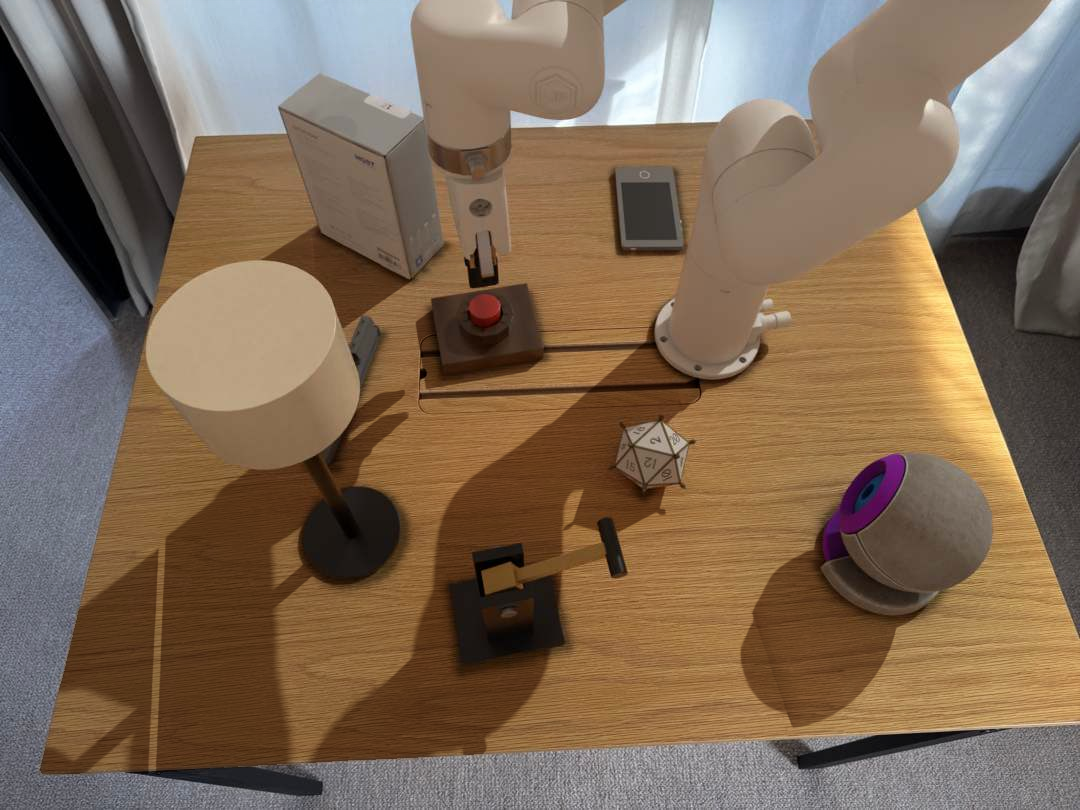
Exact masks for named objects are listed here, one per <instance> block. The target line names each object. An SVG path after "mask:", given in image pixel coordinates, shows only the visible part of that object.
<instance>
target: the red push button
mask: <svg viewBox="0 0 1080 810" xmlns="http://www.w3.org/2000/svg"><path fill="white" fill-rule="evenodd" d="M469 311H470V318H471V320H472V322H473V323H474V324H475V325H477V326H479V327H491V326H493V325H495V324H496V323H497V322H498V321H499V319H500V316H501V312H500V303H499V301H498V300H497V299H496V298H495V297H494V296H492V295H488V294H482V295H478V296H476V297H475V298H473V299H472V301H471V302H470V305H469Z"/></svg>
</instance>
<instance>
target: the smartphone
mask: <svg viewBox="0 0 1080 810" xmlns="http://www.w3.org/2000/svg"><path fill="white" fill-rule="evenodd" d="M674 171H675V170H674V168H673V167H672V166H617V167H615V171H614V180H615V191H616V203H617V213H618V214H617V215H618V225H619V227H618V228H619V237H620V249H621V250H623V251H682V250H683V248H684V245H685V244H684V235H683V227H682V220H681V214H680V208H679V207H680V206H679V200H678V192H677V187H676V179H675V172H674Z"/></svg>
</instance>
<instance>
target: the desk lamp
mask: <svg viewBox="0 0 1080 810" xmlns="http://www.w3.org/2000/svg"><path fill="white" fill-rule="evenodd" d="M145 341H146V342H145V360H146V366H147V368H148V371H149V374H150V376H151V378H152V379H153V381H154V382H155V384H156V385H157V387H158V388H159V389H160V390H161V392H162V393H163V394H164V396H165V397H166V398H167V400H168V401H169V402H170V403H171V405H172V406H173V407H174V408H175V410H176V411H177V412H178V413H179V414H180V416H181V417H182V418H183V420H184V421H185V422H186V423H187V425H188V426H189V427H190V429H191V430H192V431H193V432H194V433H195V435H196V436H197V437H198V439H199V440H200V441H201V443H202V444H203V445H204V446H205V447H206V448H207V449H208V450H209V451H210V452H211V453H212V454H213V455H215V457H217V458H219V459H220V460H222V461H224V462H226V463H228V464H230V465H232V466H233V465H234V466H235V467H239V468H244V469H250V470H276V469H282V468H287V467H291V466H293V465H297V464H299V463H302V464H303V465H304V467H305V469H306V470H307V472H308V474H309V476H310V478H311V479H312V481H313V482H314V484H315V486H316V488H317V490H318V491H319V493H320V495H321V496H322V499H321V500H319V501H318V503H317V504H315V506H314V507H313V508H312V509H311V511H310V512H309V514H308V516H307V518H306V520H305V522H304V526H303V530H302V545H303V550H304V552H305V555H306V557H307V559H308V561H309V562H310V563H311V564H312V566H313V567H314V568H315V569H316V570H318V571H319V572H320V573H322V574H323V575H325V576H327V577H328V578H332V579H336V580H341V581H352V580H358V579H362V578H365V577H368V576H371V575H372V574H375V573H376V572H377V571H379V570H380V569H382V568H383V567H384V566H385V565H386V564H388V562H389V561H390V560H391V559H392V557H393V556H394V554H395V553H396V551H397V549H398V547H399V545H400V542H401V538H402V530H403V529H402V520H401V516H400V513H399V511H398V509H397V507H396V505H395V504H394V502H393V501H392V500H391V499H390V498H389V497H388V496H387V495H386V494H384V493H383V492H382V491H379V490H377V489H374V488H372V487H367V486H348V487H343V488H339V486H338V484H337V482H336V479H334V476H333V474H332V473H331V471H330V469H329V466H327V465H328V464H327V465H326V463H325V461H324V459H323V457H322V455H321V453H320V452H321V451H323V450H324V449H325V448H327V447H328V446H329V445H330V444H332V443H333V442H334V441H335V440H336V439H337V438H338V437H339V436H340V435H341V434H342V432H343V431H344V432H345V430H346V429H347V427H348V426H349V424H350V423H351V421H352V419H353V417H354V415H355V413H356V410H357V409H358V408H357V407H358V404H359V400H360V394H361V388H360V380H359V375H358V371H357V369H356V366H355V363H354V360H353V357H352V355H351V352H350V349H349V344H348V341H347V339H346V336H345V332H344V330H343V327H342V324H341V322H340V319H339V316H338V313H337V310H336V308H335V305H334V302H333V299H332V297H331V295H330V294H329V292H328V291H327V289H326V288H325V287H324V285H323V284H322V283H321V282H320V281H319V280H318V279H316V277H314V276H313V275H311V274H310V273H308V272H306V271H305V270H303V269H300V268H299V267H297V266H295V265H291V264H288V263H284V262H279V261H276V260H275V261H273V260H244V261H237V262H232V263H228V264H225V265H221V266H217V267H214V268H213V269H209V270H208V271H205V272H204V273H202V274H200V275H197V276H196V277H194V278H192V279H191V280H189V281H187V282H185V284H184V285H182V286H180V287H179V288H178V289H177V290H176V291H174V293H173V294H171V295H170V296H169V297H168V298H167V299H166V301H165V302H164V303H163V304H162V305H161V306H160V308H159V309H158V311H157V313H156V314H155V316H154V317H153V320H152V322H151V323H150V326H149V329H148V332H147V336H146V339H145ZM344 432H343V433H344ZM342 435H343V434H342Z"/></svg>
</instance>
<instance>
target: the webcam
mask: <svg viewBox="0 0 1080 810" xmlns="http://www.w3.org/2000/svg"><path fill="white" fill-rule="evenodd" d="M993 536H994V520H993V515H992V510H991V507H990V505H989V502H988V499H987V497H986V495H985V493H984V492H983V491H982V488H981V487H980V485H978V484H977V482H976V481H975V480H974V479H973V478H972V477H971V475H969V473H967V472H966V471H964V470H963V469H962V468H961V467H959V466H957V465H956V464H955V463H953V462H951V461H948V460H946V459H944V458H942V457H939V456H936V455H932V454H929V453H924V452H904V453H894V454H887V455H886V456H883V457H880V458H877V460H875V461H873V462H871V463H869V464H868V465H866V466H865V467H864V468H863V469H862V470H861V471H860V472H859V473H858V474H857V475H856V476H855V478H854V479H853V480H852V481H851V482H850V484H849V486H848V487H847V488H846V490H845V492H844V494H843V496H842V499H841V502H840V505H839V508H838V509H837V510H836V511H835V513H834V514H833V515H832V516H831V517H830V518H829V520H828V521H827V523H826V525H825V527H824V530H823V534H822V551H823V556H824V559H825V563H823V564H822V565H821V566H820V569H821V572H822V573H823V575H824V577H825V578H826V579H827V581H828V583H830V585H831V586H832V587H833V588H834V589H835V590H836V592H838V593H839V595H841V596H842V597H843V598H845V599H846V600H847V601H849V602H850V603H851V604H853V605H855V606H857V607H859V608H861V609H863V610H866V611H869V612H871V613H874V614H879V615H884V616H900V615H901V616H902V615H907V614H911V613H914V612H917V611H919V610H921V609H922V608H924V607H925V606H927V605H928V604H929V603H931V602H932V601H933V600H934V599H935V598H936V597H937V596H938V594H939V593H940V592H941V591H944V590H948V589H950V588H953V587H955V586H957V585H959V584H961V583H963V582H964V581H966V580H968V579H969V578H970V577H971V576H973V574H975V572H977V571H978V570H979V568H980V567H981V566H982V564H983V563H984V561H985V560H986V558H987V556H988V554H989V553H990V552H989V551H990V548H991V546H992V541H993Z"/></svg>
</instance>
